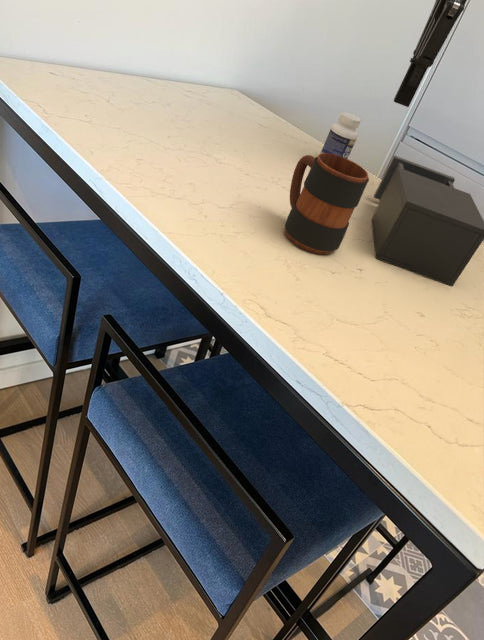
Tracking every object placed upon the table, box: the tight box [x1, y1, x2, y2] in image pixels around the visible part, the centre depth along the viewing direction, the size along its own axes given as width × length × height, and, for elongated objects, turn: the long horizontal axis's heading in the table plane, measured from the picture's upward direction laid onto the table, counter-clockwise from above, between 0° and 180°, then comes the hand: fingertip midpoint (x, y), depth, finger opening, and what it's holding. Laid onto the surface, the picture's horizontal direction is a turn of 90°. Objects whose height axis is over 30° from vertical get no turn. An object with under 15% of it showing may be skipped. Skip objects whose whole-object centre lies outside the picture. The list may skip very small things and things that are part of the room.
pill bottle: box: [319, 111, 362, 160], centre depth 111 cm, size 5×5×10 cm
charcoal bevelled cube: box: [370, 167, 484, 287], centre depth 89 cm, size 15×13×10 cm
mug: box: [284, 152, 370, 255], centre depth 81 cm, size 9×12×12 cm
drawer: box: [373, 155, 456, 203], centre depth 99 cm, size 18×11×8 cm, turn 170°
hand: (400, 103), depth 101 cm, fingers closed
